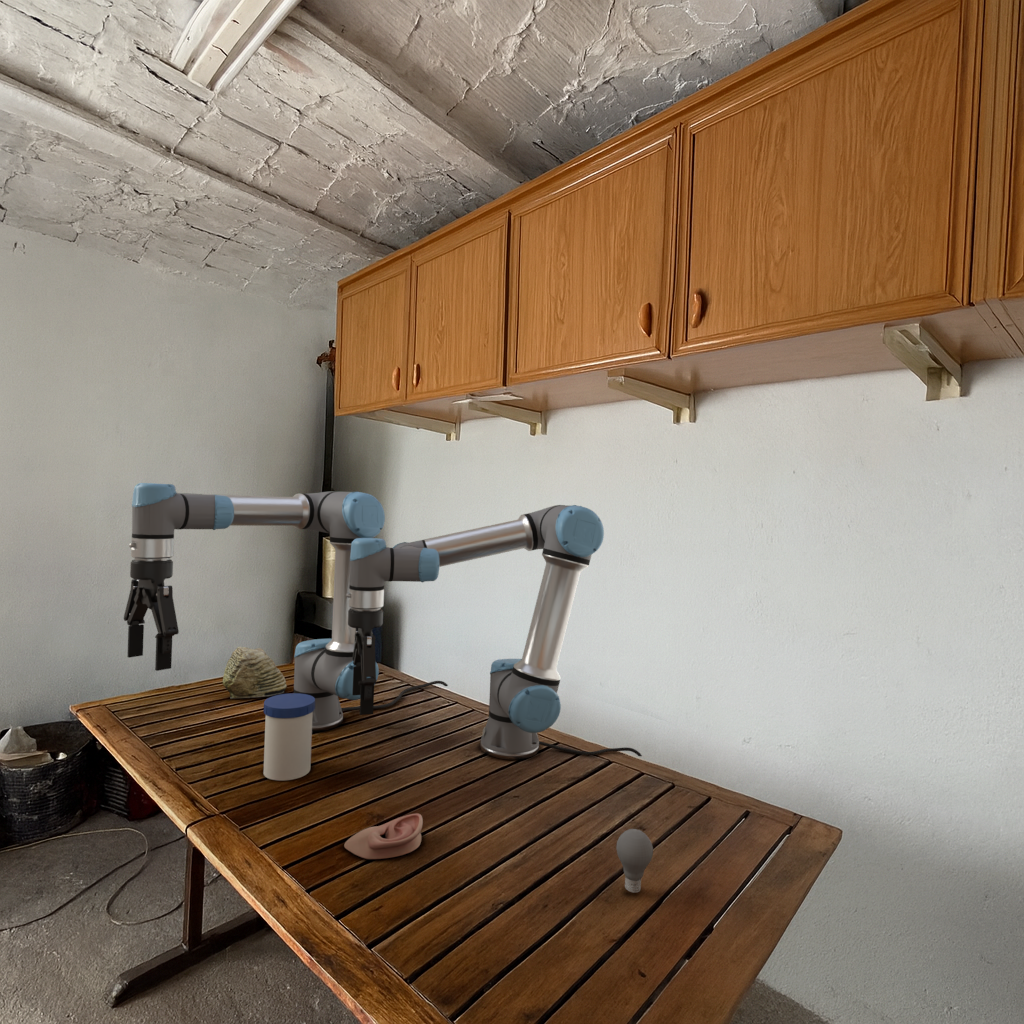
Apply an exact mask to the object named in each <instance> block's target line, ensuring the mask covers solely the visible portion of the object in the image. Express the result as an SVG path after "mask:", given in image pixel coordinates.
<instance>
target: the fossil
mask: <svg viewBox="0 0 1024 1024" xmlns="http://www.w3.org/2000/svg"><path fill="white" fill-rule="evenodd" d="M222 676H223V677H222V685H223V687H224V688H225V690H226V691H228V693H229V698H230V699H250V698H264V697H272V696H276V695H281V694H284V693H285V691H286V689H287V687H288V686H287V680H286V678H285V676H284V674H283V673H282V672H281V669H279V668H278V667H277V665H276V663H275V662H274V660H273V659H272V658H271V657H270V656H269V655H268V654H267V653H266V652H265V650H264V649H263V648H260V647H258V648H251V647H247V646H246V647H245V646H238V647H237V648H236V649H235V650H233V651H232V653H231V656H230V657H229V659H228V660H227V663H226V666H225V668H224V671H223V675H222Z"/></svg>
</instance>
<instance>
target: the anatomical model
mask: <svg viewBox="0 0 1024 1024" xmlns="http://www.w3.org/2000/svg"><path fill="white" fill-rule="evenodd" d="M423 820H424V819H423V815H421V814H420V813H409V814H405V815H403V816H400V817H397V818H395V819H392V820H390V821H388V822H386V823H383V824H381V825H378V826H377V825H376V826H370V827H367V828H364V829H362V830H360V831H358V832H356V833H355V834H353V835H352V836H351V837H350V838H348V839H347V840H346V841H345V842H344V845H343V847H344V849H346V850H347V851H348V852H350V853H351V854H353V855H355V856H358V857H360V858H362V859H366V860H381V859H389V858H390V859H391V858H396V857H400V856H404V855H406V854H409V853H412V852H414V851H415V850H417V849H418V848H419V847H420V845H421V842H422V829H423V826H424V825H423V823H424V821H423Z"/></svg>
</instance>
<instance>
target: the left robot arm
mask: <svg viewBox="0 0 1024 1024" xmlns="http://www.w3.org/2000/svg"><path fill="white" fill-rule="evenodd" d="M385 515H386V513H385V511H384V508H383V505H382V503H381V502H380V501H379V500H378V498H377V497H375V495H373V494H370V493H367V492H363V491H362V492H361V491H337V490H336V491H335V490H333V491H332V490H330V491H321V492H311V493H295V494H294V495H293V496H276V495H275V496H274V495H273V496H272V495H248V494H247V495H246V494H244V495H243V494H220V493H219V494H218V493H217V494H216V493H215V494H214V493H189V492H187V493H186V492H177V491H176V486H175V485H174V484H173V483H152V482H139V483H137V484H136V485H135V486H134V488H133V492H132V501H131V520H132V521H131V542H130V543H128V547H129V548H130V549H131V550H130V556H131V558H133V559H132V560H131V561H130V567H129V568H130V571H129V574H130V575H129V576H130V578H131V581H130V590H129V594H128V598H127V603H126V607H125V610H124V615H123V621H124V622H126V624H127V626H128V629H127V630H128V631H127V658H135V657H142V656H144V635H145V634H144V630H145V625H144V624H145V623H146V621H145V619H144V618H145V616H146V615H147V612H148V609H149V610H151V613H152V618H153V620H154V624H155V627H156V631H157V633H156V635H155V636H154V638H155V661H154V663H155V665H154V668H155V669H154V670H155V671H157V672H159V671H164V670H169V669H172V659H173V657H172V655H173V637H175V636H176V635H179V632H180V631H179V625H178V619H177V615H176V614H177V613H176V609H175V603H174V597H173V595H174V593H173V585H165V580H167V579H171V578H172V577H173V575H174V573H173V572H174V561H173V560H172V559H171V558H173V557H174V554H175V553H174V552H175V530H213V531H215V530H224V529H228V528H230V526H233V527H234V526H237V527H238V526H240V527H243V526H246V527H247V526H249V527H250V526H258V527H259V526H268V527H269V526H276V527H277V526H282V527H284V526H285V527H286V526H287V527H288V526H289V527H290V526H291V527H293V528H294V529H296V530H308V531H309V530H310V531H316V532H319V533H325V534H329V544H330V545H331V546H332V547H333V548H334V550H335V551H334V572H333V573H334V577H333V599H332V625H331V626H332V627H331V638H317V639H308V640H304V641H300V642H299V643H297V645H296V646H295V650H294V655H293V657H294V672H293V673H294V674H293V693H300V694H307V695H311V696H313V697H314V698H315V709H314V711H313V715H312V733H316V732H325V731H329V730H332V729H335V728H337V727H339V726H340V725H342V723H343V722H344V714H343V712H348V711H349V712H350V711H360V705H358V706H346V707H345V706H344V707H342V706H341V702H340V699H339V698H341V699H342V700H343V699H344V700H348V701H349V700H350V701H357V700H360V695H352V693H353V666H356V665H354V664H353V659H352V657H353V651H354V641H355V631H356V628H352V627H350V626H349V625H348V610H349V609H351V607H349V598H347V597H346V594H347V593H350V591H349V578H350V554H351V543H352V542H353V540H354V539H357V538H376V536H378V535H379V534H380V533H381V530H383V528H384V526H385V522H386V521H385V520H386V516H385ZM375 664H376V680H377V681H378V678H379V674H380V672H379V671H380V670H379V669H380V668H379V665H378V663H377V662H376V661H375ZM367 678H371V677H367ZM376 684H377V682H376V683H374V686H375V685H376ZM438 684H439V685H443V686H444V687H448V686H449V684H447V682H445V681H444V680H443V681H442V680H433V681H430V682H426V683H423V684H419V685H414V686H411V687H408V688H405V689H403V690H402V691H400V693H399V694H398V696H396V697H395V698H394V699H393V700H392V701H390V702H388V703H385V704H384V703H383V704H379V705H378V704H377V705H374V707H373V710H379V709H386V708H390V707H392V706H394V705H395V704H396V703H397V702H399V701H400V700H401V698H403V696H404V695H405V694H406V693H408V692H411V691H414V690H418V689H422V688H426V687H430V686H432V685H438Z"/></svg>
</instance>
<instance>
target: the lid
mask: <svg viewBox="0 0 1024 1024" xmlns="http://www.w3.org/2000/svg"><path fill="white" fill-rule="evenodd" d="M314 709H315V698H314V697H313V696H311V695H307V694H300V693H294V692H292V693H280V694H276V695H272V696H269V697H267V698H266V699H265V700H264V702H263V711H262V712H263V714H264V715H265V716H266V715H267V716H270V717H274V718H295V717H301V716H304V715H307V714H310V713H312V712H313V711H314Z"/></svg>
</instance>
